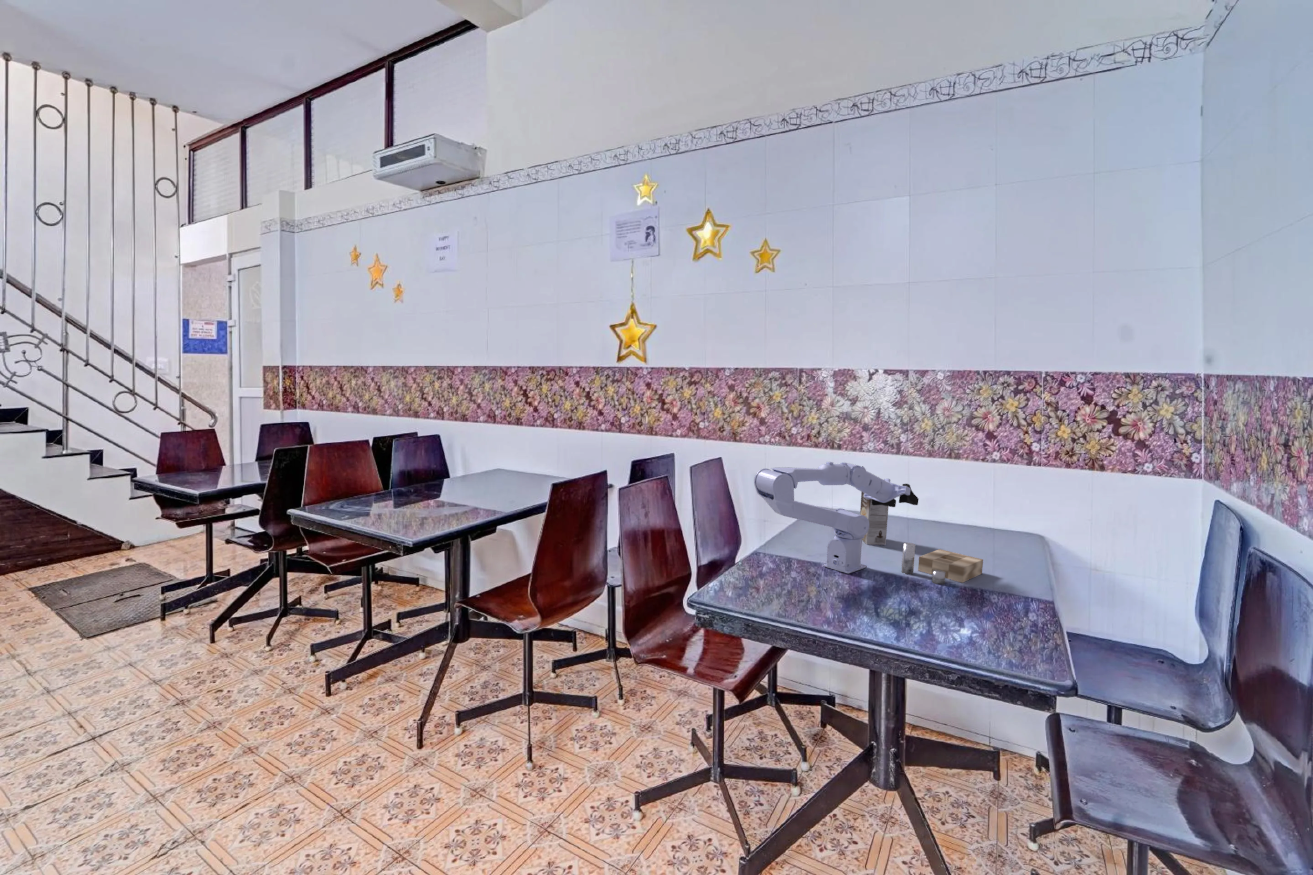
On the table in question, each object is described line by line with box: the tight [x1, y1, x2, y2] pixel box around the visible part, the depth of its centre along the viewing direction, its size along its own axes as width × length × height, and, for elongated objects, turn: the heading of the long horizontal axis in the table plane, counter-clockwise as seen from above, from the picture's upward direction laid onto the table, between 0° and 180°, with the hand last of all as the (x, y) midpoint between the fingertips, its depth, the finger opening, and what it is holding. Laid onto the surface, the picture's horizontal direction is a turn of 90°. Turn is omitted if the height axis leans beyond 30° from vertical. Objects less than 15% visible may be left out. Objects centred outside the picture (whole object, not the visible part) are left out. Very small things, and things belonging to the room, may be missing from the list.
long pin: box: [901, 542, 916, 575], centre depth 170 cm, size 3×3×8 cm
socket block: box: [917, 548, 984, 584], centre depth 171 cm, size 12×12×4 cm
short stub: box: [931, 570, 946, 586], centre depth 163 cm, size 3×3×3 cm
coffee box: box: [859, 491, 889, 546], centre depth 200 cm, size 9×6×16 cm
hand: (905, 502), depth 180 cm, fingers open, 7 cm apart
